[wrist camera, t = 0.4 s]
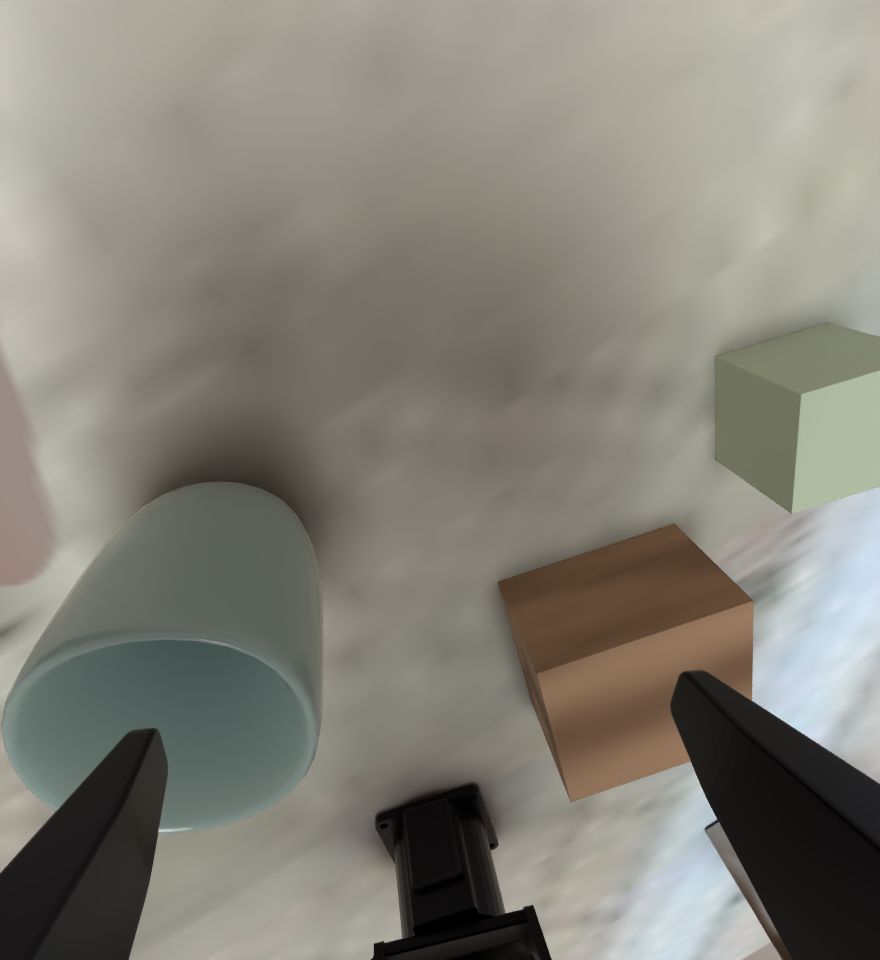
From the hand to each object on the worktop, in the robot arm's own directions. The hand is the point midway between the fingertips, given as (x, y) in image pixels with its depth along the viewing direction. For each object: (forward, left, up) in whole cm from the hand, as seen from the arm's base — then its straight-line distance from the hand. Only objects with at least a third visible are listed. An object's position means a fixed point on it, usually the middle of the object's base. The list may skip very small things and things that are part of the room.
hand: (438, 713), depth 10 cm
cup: (-3, +7, -14) cm, 16 cm away
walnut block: (-14, -8, -14) cm, 22 cm away
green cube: (-4, -17, -14) cm, 22 cm away
